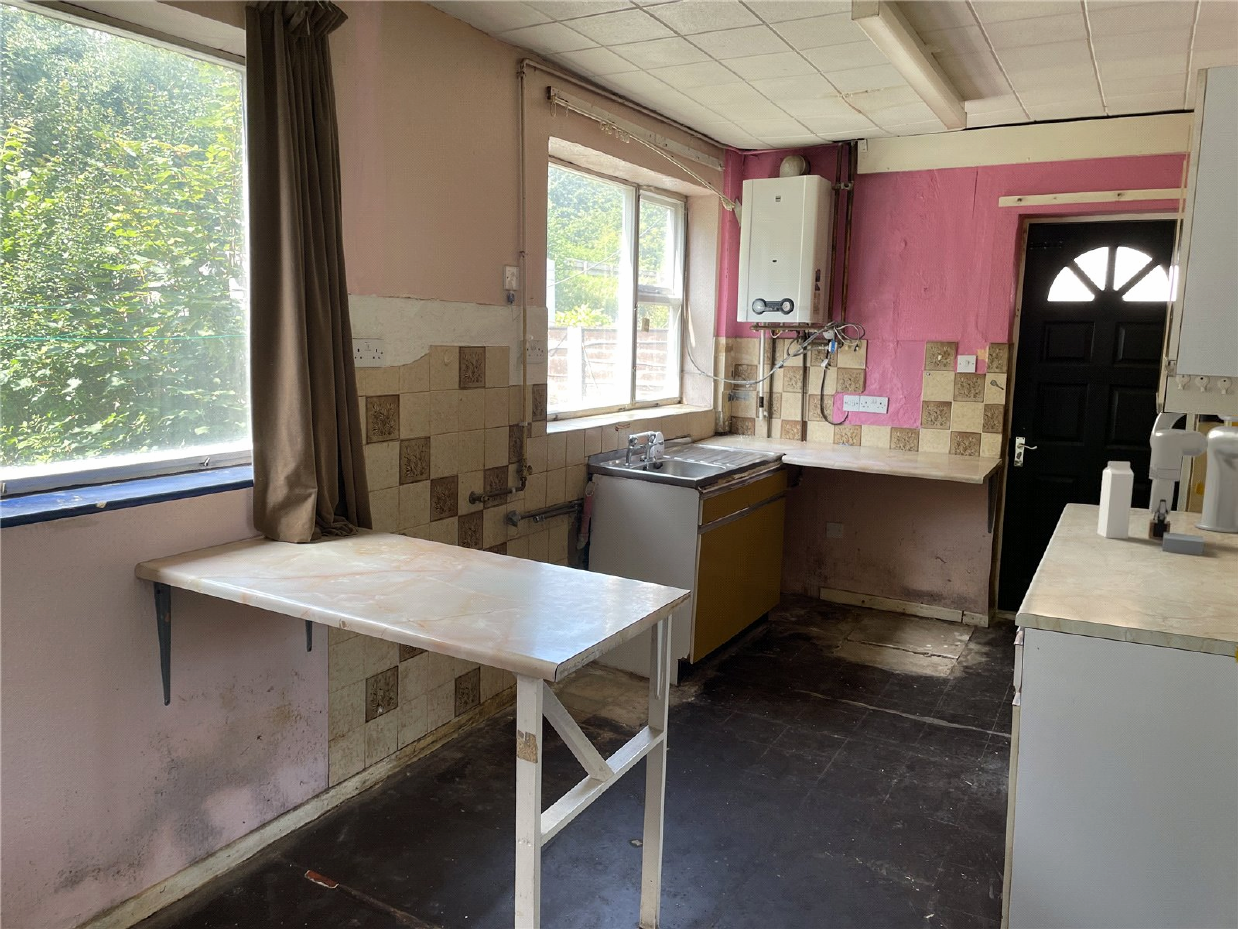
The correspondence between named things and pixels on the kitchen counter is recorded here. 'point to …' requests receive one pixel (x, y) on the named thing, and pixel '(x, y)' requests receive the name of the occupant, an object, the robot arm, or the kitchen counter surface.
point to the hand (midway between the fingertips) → (1158, 534)
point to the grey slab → (1183, 543)
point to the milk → (1115, 500)
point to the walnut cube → (1151, 526)
